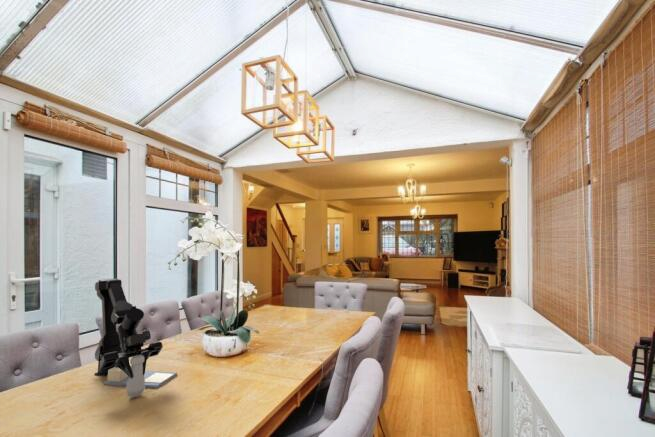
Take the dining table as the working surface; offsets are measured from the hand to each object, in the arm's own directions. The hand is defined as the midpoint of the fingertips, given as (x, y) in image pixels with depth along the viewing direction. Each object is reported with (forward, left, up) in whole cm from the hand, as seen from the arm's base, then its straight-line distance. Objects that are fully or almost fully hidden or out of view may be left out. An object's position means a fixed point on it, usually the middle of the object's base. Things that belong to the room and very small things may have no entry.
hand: (138, 376), depth 107 cm
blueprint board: (-9, +14, -7) cm, 18 cm away
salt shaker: (-1, +1, -7) cm, 7 cm away
